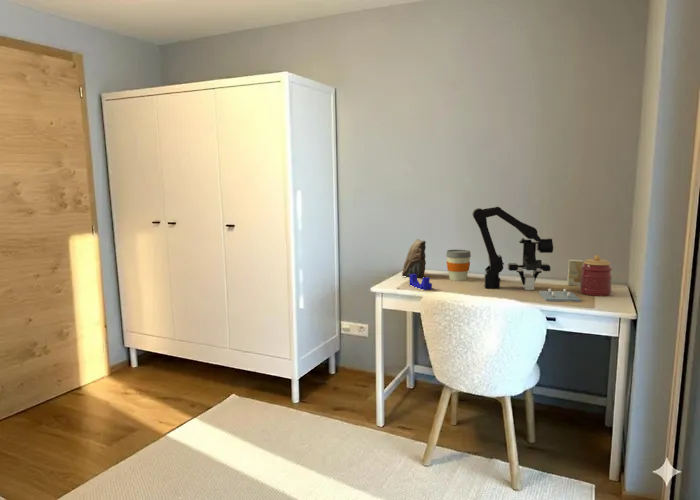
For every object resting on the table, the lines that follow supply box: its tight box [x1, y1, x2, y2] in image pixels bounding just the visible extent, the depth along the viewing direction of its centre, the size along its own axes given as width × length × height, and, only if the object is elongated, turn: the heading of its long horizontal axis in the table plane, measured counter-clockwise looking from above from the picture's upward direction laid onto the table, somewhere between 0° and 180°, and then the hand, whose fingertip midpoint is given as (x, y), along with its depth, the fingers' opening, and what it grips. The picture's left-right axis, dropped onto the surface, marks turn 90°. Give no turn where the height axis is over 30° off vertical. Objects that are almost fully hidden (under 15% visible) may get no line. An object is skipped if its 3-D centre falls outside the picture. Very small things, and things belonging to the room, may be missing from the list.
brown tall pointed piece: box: [401, 238, 427, 278], centre depth 276 cm, size 13×13×20 cm
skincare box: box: [566, 259, 584, 287], centre depth 251 cm, size 6×4×12 cm
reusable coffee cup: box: [445, 249, 472, 282], centre depth 268 cm, size 12×13×15 cm
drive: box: [521, 273, 536, 291], centre depth 245 cm, size 4×9×6 cm, turn 171°
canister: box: [579, 254, 613, 297], centre depth 232 cm, size 13×13×18 cm
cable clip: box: [409, 274, 433, 291], centre depth 249 cm, size 12×4×6 cm, turn 29°
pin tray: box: [538, 288, 582, 303], centre depth 226 cm, size 14×16×3 cm
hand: (528, 284), depth 245 cm, fingers closed on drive, 4 cm apart
